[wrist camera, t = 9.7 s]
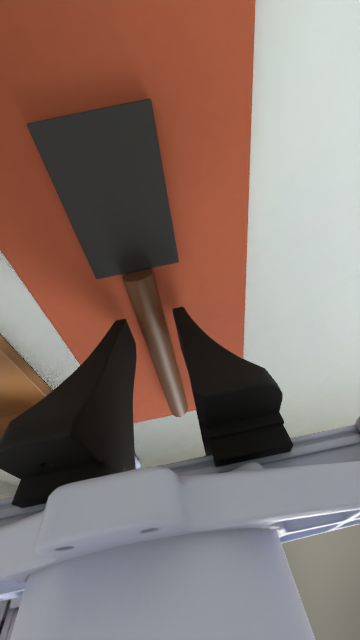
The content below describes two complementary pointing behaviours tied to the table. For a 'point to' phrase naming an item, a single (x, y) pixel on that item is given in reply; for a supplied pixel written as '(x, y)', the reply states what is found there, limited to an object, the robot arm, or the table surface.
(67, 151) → the spatula
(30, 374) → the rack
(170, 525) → the robot arm
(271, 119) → the table surface
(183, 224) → the mat
